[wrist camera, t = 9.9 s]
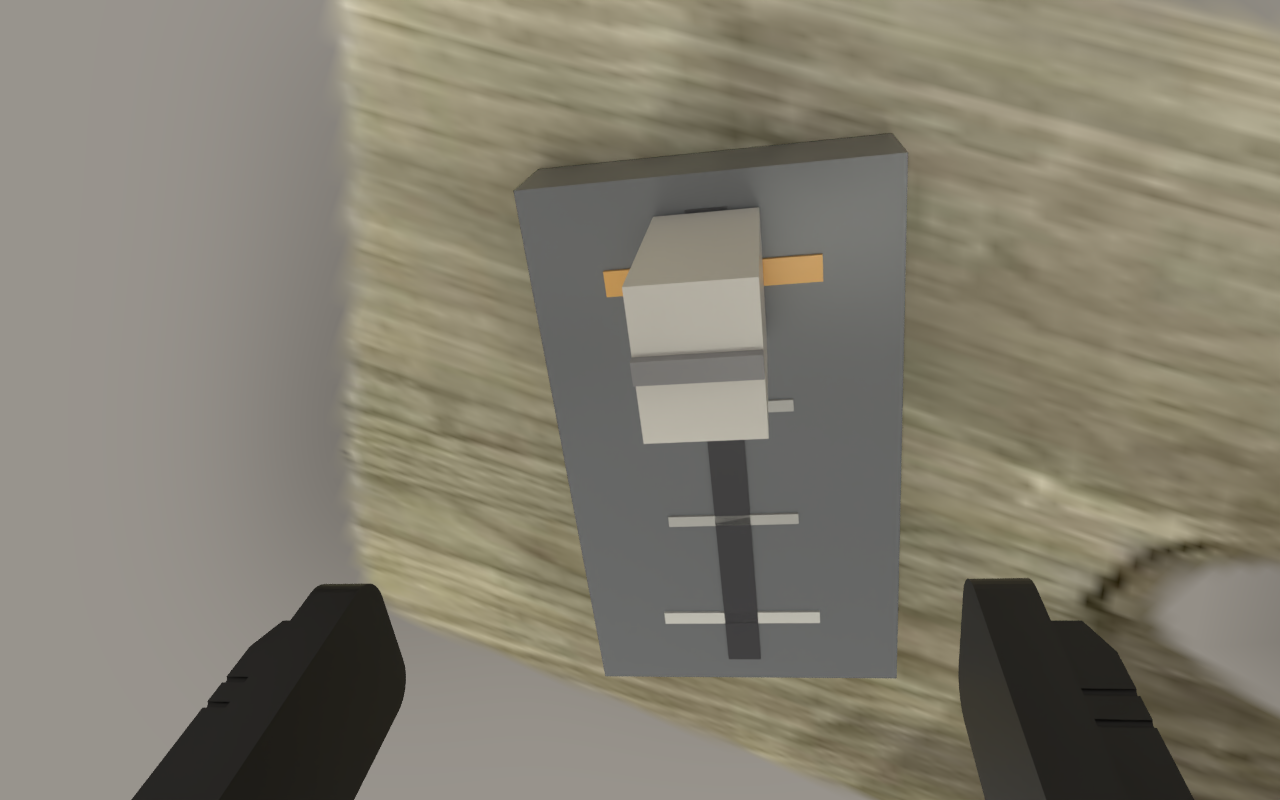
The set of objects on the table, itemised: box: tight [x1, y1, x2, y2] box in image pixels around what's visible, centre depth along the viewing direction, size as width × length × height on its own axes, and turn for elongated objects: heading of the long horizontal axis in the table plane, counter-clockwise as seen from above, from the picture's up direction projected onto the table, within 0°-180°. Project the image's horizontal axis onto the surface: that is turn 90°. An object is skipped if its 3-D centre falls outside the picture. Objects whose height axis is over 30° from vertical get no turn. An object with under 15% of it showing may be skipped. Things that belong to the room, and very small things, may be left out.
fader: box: [622, 207, 769, 444], centre depth 21 cm, size 3×4×6 cm
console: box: [514, 133, 908, 678], centre depth 28 cm, size 11×19×3 cm, turn 7°
